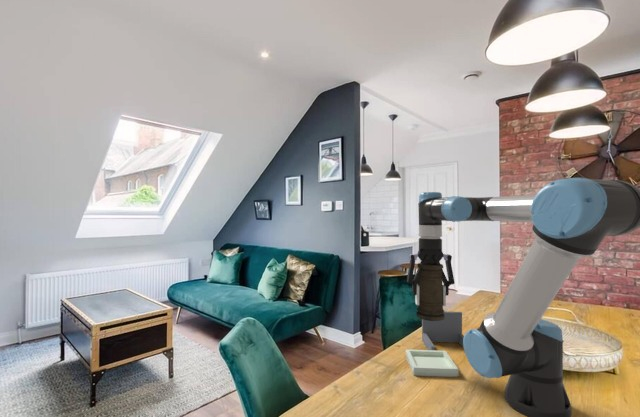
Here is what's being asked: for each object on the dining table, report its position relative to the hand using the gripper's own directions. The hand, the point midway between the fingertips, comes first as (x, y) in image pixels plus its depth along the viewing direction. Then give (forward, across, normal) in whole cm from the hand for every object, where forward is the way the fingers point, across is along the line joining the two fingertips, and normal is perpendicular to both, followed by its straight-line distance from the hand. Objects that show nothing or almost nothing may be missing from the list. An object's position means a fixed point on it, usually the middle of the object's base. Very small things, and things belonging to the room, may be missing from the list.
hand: (430, 304), depth 113 cm
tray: (+21, 0, 0) cm, 21 cm away
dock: (+21, -10, -15) cm, 28 cm away
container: (+4, 0, 0) cm, 4 cm away
